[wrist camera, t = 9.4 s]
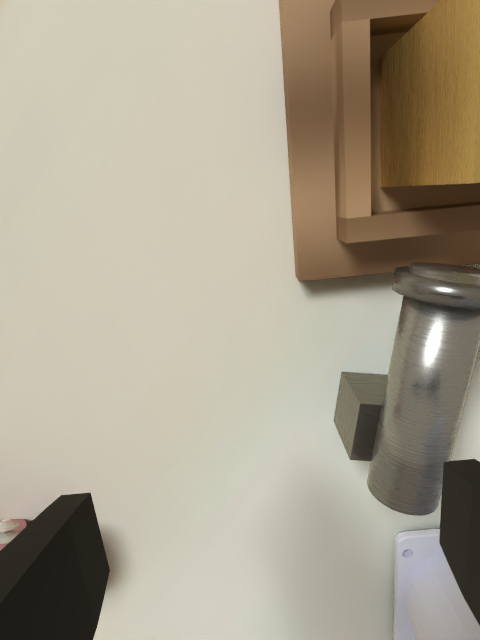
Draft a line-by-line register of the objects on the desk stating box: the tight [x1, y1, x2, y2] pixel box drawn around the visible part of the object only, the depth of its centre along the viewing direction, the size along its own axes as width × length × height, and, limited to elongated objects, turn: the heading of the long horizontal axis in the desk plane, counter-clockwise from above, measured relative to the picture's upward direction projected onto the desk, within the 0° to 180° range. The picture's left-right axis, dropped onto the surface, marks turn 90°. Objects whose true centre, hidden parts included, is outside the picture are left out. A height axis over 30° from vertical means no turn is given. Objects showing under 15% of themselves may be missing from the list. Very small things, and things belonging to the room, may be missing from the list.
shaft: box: [334, 262, 480, 515], centre depth 15 cm, size 8×3×6 cm, turn 176°
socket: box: [279, 0, 480, 281], centre depth 14 cm, size 10×10×2 cm
